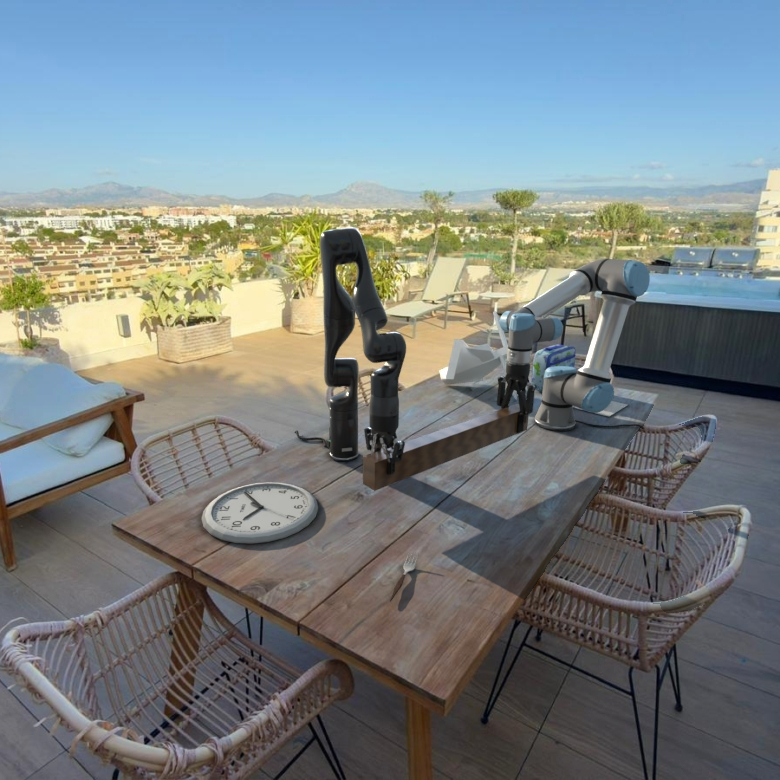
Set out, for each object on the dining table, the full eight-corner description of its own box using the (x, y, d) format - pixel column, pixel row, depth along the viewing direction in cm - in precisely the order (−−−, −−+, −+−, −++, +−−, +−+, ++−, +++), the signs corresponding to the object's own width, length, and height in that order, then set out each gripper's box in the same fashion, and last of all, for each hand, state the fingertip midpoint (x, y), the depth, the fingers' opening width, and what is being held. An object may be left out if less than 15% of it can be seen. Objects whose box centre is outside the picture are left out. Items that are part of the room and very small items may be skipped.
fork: (383, 601, 106) (384, 593, 106) (408, 557, 120) (408, 550, 120) (396, 605, 105) (396, 596, 105) (419, 560, 120) (419, 552, 119)
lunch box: (547, 397, 237) (552, 352, 231) (526, 391, 245) (531, 348, 238) (574, 386, 255) (580, 344, 249) (554, 381, 262) (559, 340, 256)
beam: (515, 425, 180) (517, 403, 177) (527, 430, 176) (529, 407, 174) (362, 483, 138) (362, 456, 136) (374, 490, 135) (374, 462, 132)
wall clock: (315, 535, 126) (186, 539, 123) (315, 541, 126) (187, 545, 123) (320, 478, 154) (216, 480, 152) (320, 483, 155) (216, 485, 152)
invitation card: (608, 416, 214) (573, 407, 224) (608, 416, 214) (573, 408, 224) (628, 404, 229) (594, 396, 238) (628, 405, 229) (594, 397, 238)
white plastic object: (461, 429, 252) (437, 405, 227) (444, 352, 274) (420, 323, 250) (535, 404, 240) (518, 377, 215) (510, 326, 262) (492, 293, 237)
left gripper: (355, 406, 136) (355, 465, 141) (391, 421, 126) (390, 484, 131) (377, 400, 141) (377, 457, 146) (414, 414, 131) (412, 475, 136)
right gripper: (488, 358, 172) (483, 424, 179) (536, 370, 159) (529, 440, 166) (502, 355, 176) (496, 419, 183) (549, 366, 164) (542, 434, 171)
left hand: (383, 470), depth 139 cm, fingers closed on beam, 5 cm apart
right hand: (512, 429), depth 175 cm, fingers closed on beam, 5 cm apart
